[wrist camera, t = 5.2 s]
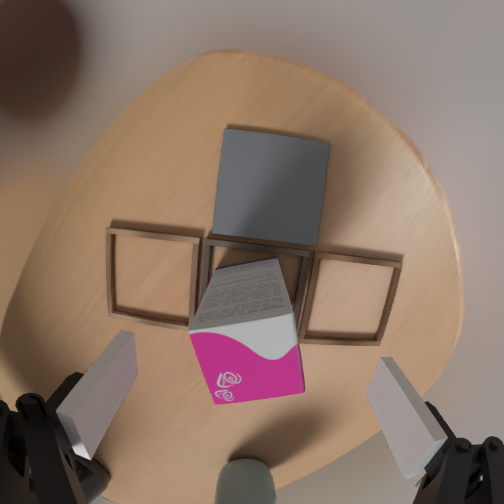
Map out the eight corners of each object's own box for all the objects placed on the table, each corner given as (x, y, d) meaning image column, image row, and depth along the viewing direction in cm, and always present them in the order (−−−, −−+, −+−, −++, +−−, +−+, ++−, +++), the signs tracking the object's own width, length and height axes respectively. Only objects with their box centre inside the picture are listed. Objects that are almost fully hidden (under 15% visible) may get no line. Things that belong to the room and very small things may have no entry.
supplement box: (212, 268, 25) (185, 327, 14) (278, 255, 25) (300, 307, 14) (226, 325, 26) (213, 408, 15) (288, 314, 26) (311, 393, 15)
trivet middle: (199, 329, 26) (198, 332, 26) (206, 237, 25) (205, 238, 24) (291, 339, 27) (292, 342, 26) (308, 249, 25) (310, 251, 24)
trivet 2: (296, 340, 27) (297, 343, 26) (314, 250, 25) (315, 252, 24) (377, 343, 27) (379, 345, 26) (399, 261, 25) (402, 263, 25)
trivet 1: (110, 314, 26) (108, 316, 26) (109, 226, 24) (106, 227, 24) (194, 329, 26) (193, 332, 26) (200, 237, 25) (199, 238, 24)
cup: (265, 447, 30) (268, 508, 21) (279, 473, 32) (284, 526, 22) (210, 455, 31) (202, 512, 21) (229, 480, 32) (226, 531, 23)
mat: (212, 232, 24) (211, 233, 24) (224, 129, 23) (224, 128, 22) (315, 245, 25) (316, 246, 24) (328, 144, 23) (329, 143, 22)
